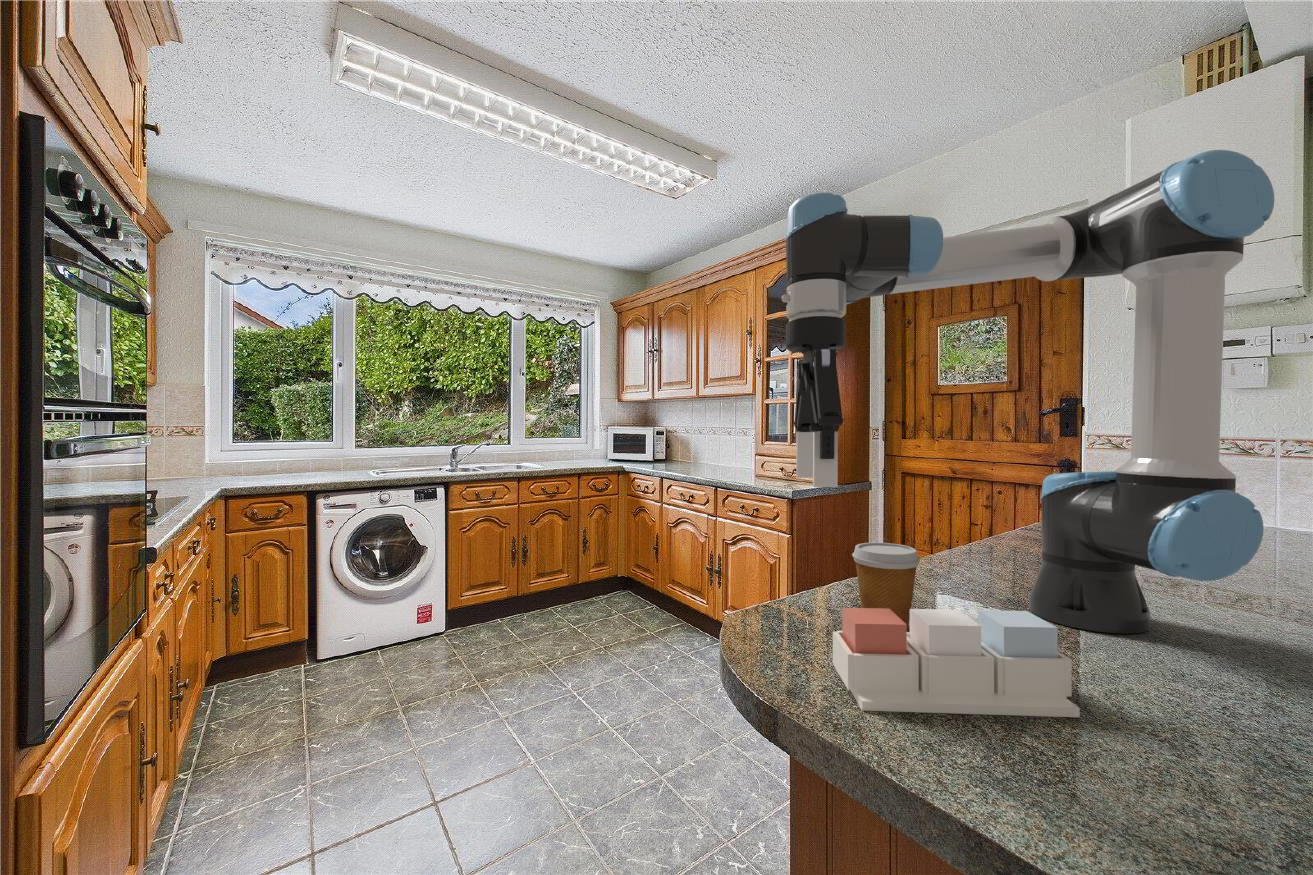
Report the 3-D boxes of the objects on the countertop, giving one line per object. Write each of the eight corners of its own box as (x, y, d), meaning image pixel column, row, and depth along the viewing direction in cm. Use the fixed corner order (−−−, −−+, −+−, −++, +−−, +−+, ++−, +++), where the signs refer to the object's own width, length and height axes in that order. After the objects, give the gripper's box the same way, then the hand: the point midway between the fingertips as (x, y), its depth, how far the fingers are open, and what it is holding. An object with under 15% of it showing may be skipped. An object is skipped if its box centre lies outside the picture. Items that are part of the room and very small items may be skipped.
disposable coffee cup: (928, 640, 78) (927, 556, 78) (857, 636, 80) (857, 553, 80) (911, 618, 87) (910, 543, 87) (848, 614, 89) (848, 541, 89)
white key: (957, 642, 66) (957, 609, 66) (981, 662, 61) (981, 626, 61) (909, 641, 67) (909, 608, 67) (928, 660, 61) (928, 625, 61)
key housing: (1020, 668, 69) (1020, 628, 69) (1087, 717, 57) (1087, 669, 57) (828, 663, 71) (827, 624, 71) (854, 710, 59) (854, 663, 59)
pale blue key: (1026, 644, 66) (1026, 611, 66) (1057, 664, 60) (1057, 627, 60) (978, 643, 66) (978, 610, 66) (1003, 662, 60) (1004, 626, 60)
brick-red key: (889, 641, 67) (889, 608, 67) (906, 660, 61) (906, 624, 61) (842, 640, 67) (842, 607, 67) (855, 659, 62) (855, 623, 62)
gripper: (775, 336, 85) (775, 474, 85) (800, 297, 60) (800, 491, 60) (825, 335, 84) (825, 474, 84) (872, 295, 59) (871, 492, 59)
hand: (814, 482), depth 72 cm, fingers open, 13 cm apart
